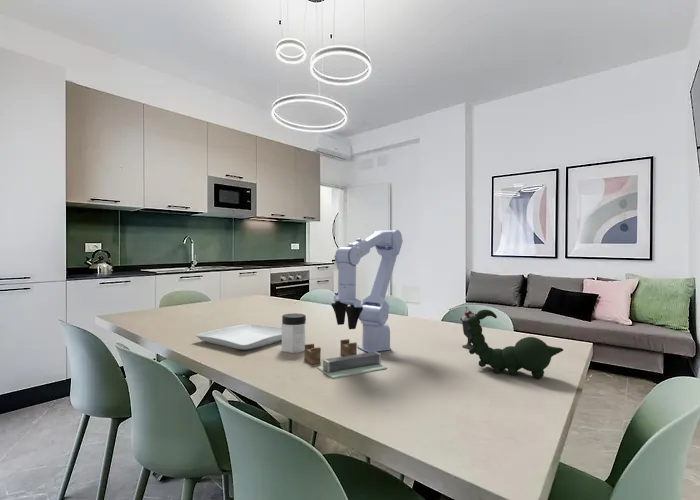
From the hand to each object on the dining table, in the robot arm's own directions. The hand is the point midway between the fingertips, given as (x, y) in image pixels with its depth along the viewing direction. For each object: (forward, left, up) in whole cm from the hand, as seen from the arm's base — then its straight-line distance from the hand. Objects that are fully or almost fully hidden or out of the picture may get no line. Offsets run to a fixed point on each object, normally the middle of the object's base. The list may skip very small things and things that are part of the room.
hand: (346, 326), depth 118 cm
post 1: (+10, -3, -10) cm, 15 cm away
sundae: (-47, +8, -11) cm, 49 cm away
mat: (+3, +9, -10) cm, 14 cm away
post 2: (-3, -3, -10) cm, 11 cm away
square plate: (+22, -38, -11) cm, 45 cm away
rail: (+3, +9, -10) cm, 14 cm away
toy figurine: (-36, +34, -11) cm, 51 cm away
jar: (+11, -18, -11) cm, 24 cm away
